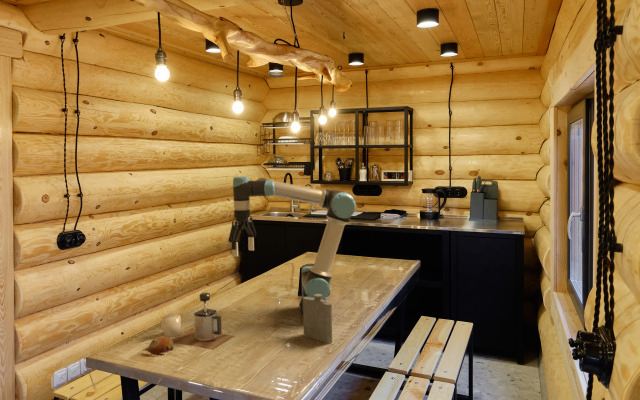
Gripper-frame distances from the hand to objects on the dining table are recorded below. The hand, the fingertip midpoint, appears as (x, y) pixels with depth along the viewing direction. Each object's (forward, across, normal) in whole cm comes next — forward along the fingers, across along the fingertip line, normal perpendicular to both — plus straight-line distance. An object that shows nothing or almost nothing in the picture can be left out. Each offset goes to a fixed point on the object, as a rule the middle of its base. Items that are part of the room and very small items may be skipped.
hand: (243, 253), depth 236 cm
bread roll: (+35, +41, -15) cm, 56 cm away
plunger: (+31, +24, -5) cm, 40 cm away
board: (+35, +26, -6) cm, 44 cm away
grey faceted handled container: (+33, +24, -4) cm, 41 cm away
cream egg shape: (+35, +27, -22) cm, 49 cm away
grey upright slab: (+35, +3, +41) cm, 54 cm away
